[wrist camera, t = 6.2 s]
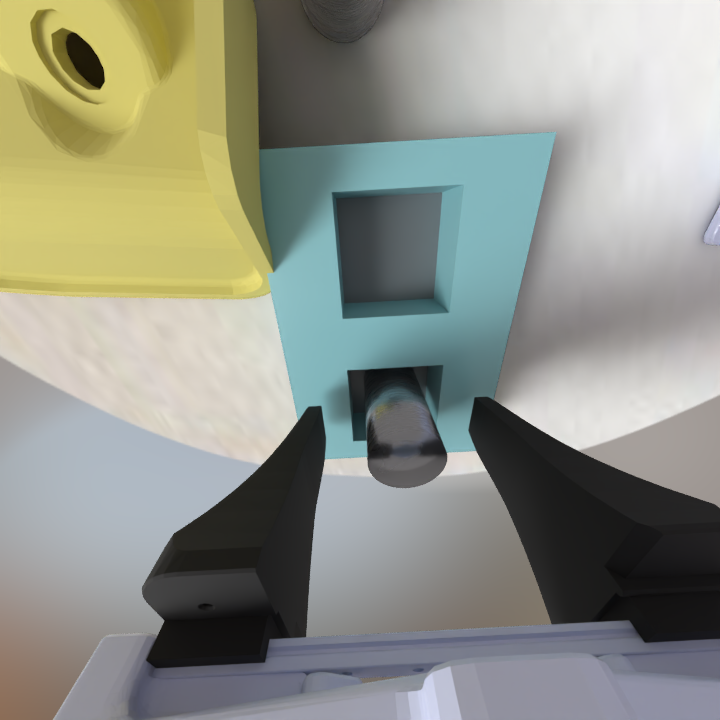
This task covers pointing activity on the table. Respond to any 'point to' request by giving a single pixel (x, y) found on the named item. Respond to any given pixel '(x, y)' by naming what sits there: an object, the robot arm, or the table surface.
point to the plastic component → (131, 151)
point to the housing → (399, 269)
